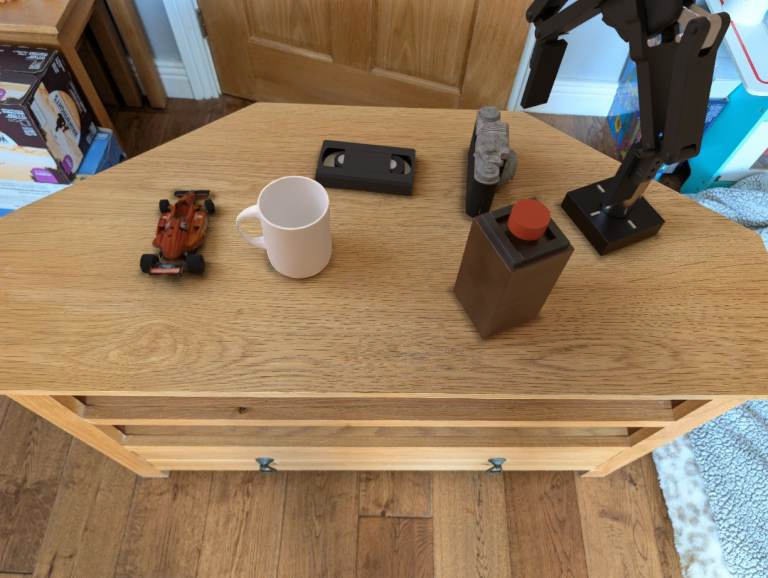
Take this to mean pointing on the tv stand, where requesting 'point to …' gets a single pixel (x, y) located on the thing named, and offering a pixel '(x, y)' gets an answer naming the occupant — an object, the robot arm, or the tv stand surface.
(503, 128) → the camera
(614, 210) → the dial
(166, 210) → the toy car
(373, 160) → the vhs tape
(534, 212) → the press knob
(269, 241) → the mug
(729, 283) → the tv stand surface
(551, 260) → the pillar
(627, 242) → the dial panel
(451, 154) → the tv stand surface
